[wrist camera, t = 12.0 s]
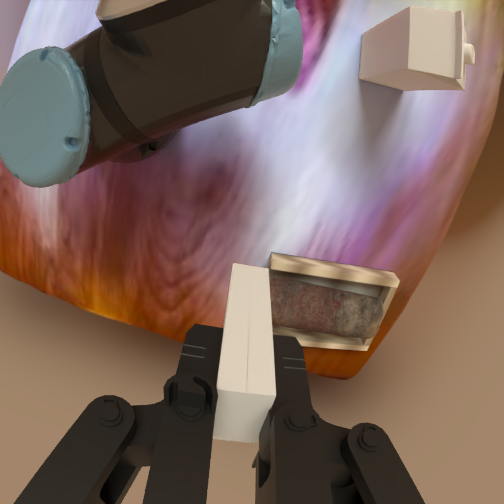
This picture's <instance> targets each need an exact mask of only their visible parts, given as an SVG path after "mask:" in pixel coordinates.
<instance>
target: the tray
mask: <svg viewBox="0 0 504 504" xmlns="http://www.w3.org/2000/svg"><path fill="white" fill-rule="evenodd" d="M268 270H269V274H271V275H276V276H280V277H285V278H289V279H294V280H298V281H303V282H307V283H311V284H316V285H320V286H325V287H330V288H334V289H339V290H344V291H349V292H354V293H359V294H363V295H368V296H373V297H378V298H380V299H381V300H382V302H383V305H384V309H383V317H384V315H385V313H386V311H387V309H388V307H389V305H390V302H391V300H392V298H393V296H394V294H395V291H396V289H397V287H398V284H399V282H400V281H399V279H398V278H397V277H396V275H395V274H394V272H390V271H384V270H378V269H372V268H366V267H359V266H353V265H347V264H341V263H335V262H329V261H323V260H316V259H310V258H304V257H298V256H292V255H285V254H279V253H273V252H272V253H271V257H270V262H269V266H268ZM383 317H382V319H383ZM381 322H382V320H381ZM381 322H380V324H381ZM380 324H379V326H380ZM272 332H273V334H275V335H283V336H292V337H296V339H297V340H298V341H299V343H300V344H301V346H309V347H320V348H332V349H346V350H362V351H367V349H368V347H369V345H370V343H371V341H372V340H373V338H374V337H373V338H370V339H363V338H355V337H348V336H339V335H333V334H327V333H320V332H313V331H306V330H300V329H293V328H287V327H281V326H275V325H272Z"/></svg>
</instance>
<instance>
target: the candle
mask: <svg viewBox="0 0 504 504" xmlns="http://www.w3.org/2000/svg"><path fill="white" fill-rule="evenodd" d="M269 285H270V300H271V316H272V325H275V326H281V327H287V328H293V329H300V330H306V331H313V332H320V333H327V334H333V335H339V336H348V337H355V338H363V339H370V338H373V337H374V336H375V335H376V334H377V332H378V330H379V324H380V322H381V320H382V317H383V309H384V305H383V302H382V300H381V299H380V298H378V297H373V296H368V295H363V294H359V293H354V292H349V291H344V290H339V289H334V288H330V287H325V286H320V285H316V284H311V283H307V282H303V281H298V280H294V279H289V278H285V277H280V276H276V275H271V274H269Z"/></svg>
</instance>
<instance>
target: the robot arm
mask: <svg viewBox="0 0 504 504" xmlns="http://www.w3.org/2000/svg"><path fill="white" fill-rule="evenodd" d="M95 14H96V16H97V18H98V20H99V21H100V23H101V24H102V25H103V26H101V27H99V28H98V29H96V30H94V31H93V32H91V33H89V34H87V35H86V36H84V37H82V38H81V39H79V40H78V41H76V42H74V43H73V44H71V45H70V46H68V47H66V48H64V49H61V48H59V47H56V46H55V47H50V46H48V47H45V48H41V49H36V50H33V51H31V52H29V53H27V54H25V55H24V56H22V57H21V58H20V59H19V60H18V61H17V62H16V63H15V64H14V65H13V66H12V67H11V69H10V70H9V71H8V73H7V74H6V76H5V78H4V80H3V82H2V84H1V86H0V156H1V159H2V161H3V163H4V164H5V166H6V167H7V169H8V170H9V171H10V173H11V174H12V175H13V176H14V177H16V178H19V179H20V180H21V181H22V182H23V183H24V184H26V185H28V186H32V187H38V188H43V187H49V186H52V185H54V184H62V183H65V182H67V181H69V180H70V179H71V178H73V177H74V176H75V175H76V174H78V173H81V172H83V171H85V170H87V169H89V168H91V167H94V166H96V165H98V164H100V163H103V162H105V161H107V160H110V161H114V162H119V163H130V162H136V161H140V160H143V159H145V158H147V157H150V156H152V155H153V154H155V153H157V152H158V151H160V150H161V149H162V148H164V147H165V146H166V145H167V144H168V143H169V141H170V140H171V139H172V138H173V136H174V135H175V133H176V131H177V130H178V129H181V128H183V127H186V126H189V125H192V124H195V123H197V122H200V121H203V120H206V119H209V118H212V117H215V116H218V115H221V114H224V113H228V112H231V111H234V110H237V109H241V108H250V107H251V106H254V105H256V104H257V103H258V102H260V101H264V100H267V99H270V98H273V97H276V96H279V95H282V94H284V93H286V92H287V91H289V90H290V89H291V88H292V87H293V86H294V85H295V84H296V82H297V80H298V78H299V75H300V72H301V67H302V60H303V36H302V26H301V19H300V14H299V11H298V10H297V9H296V8H295V0H99V3H98V6H97V9H96V12H95ZM258 438H259V451H258V453H257V455H256V457H255V459H254V461H253V464H252V468H255V467H256V495H255V496H256V498H255V500H256V501H255V504H425V503H424V501H423V499H422V497H421V495H420V493H419V492H418V490H417V488H416V486H415V484H414V482H413V480H412V479H411V477H410V475H409V473H408V471H407V469H406V468H405V466H404V464H403V462H402V460H401V459H400V457H399V455H398V453H397V451H396V450H395V448H394V446H393V444H392V442H391V441H390V439H389V437H388V435H387V434H386V433H385V432H384V430H383V429H382V428H380V427H378V426H377V425H375V424H371V423H360V424H357V425H355V426H354V427H353V428H352V429H351V430H350V429H347V428H343V427H339V426H336V425H332V424H330V423H327V422H325V421H324V420H322V419H321V418H320V417H319V415H318V414H317V413H316V412H315V410H314V409H313V407H312V404H311V398H310V391H309V385H308V379H307V372H306V365H305V361H304V353H303V347H302V346H301V344H300V343H299V341H298V340H297V339H296V337H292V336H283V335H275V334H273V332H272V316H271V300H270V285H269V270H268V268H262V267H256V266H249V265H243V264H237V263H233V267H232V273H231V279H230V285H229V291H228V298H227V304H226V310H225V317H224V324H223V328H218V327H212V326H206V325H200V324H195V325H194V326H193V327H192V328H191V329H190V330H189V331H188V332H187V334H186V338H185V341H184V346H183V349H182V354H181V356H180V360H179V365H178V368H177V372H176V375H174V376H172V377H171V378H170V379H168V380H167V382H166V384H165V386H164V400H162V401H161V402H158V403H155V404H150V405H136V406H131V405H130V404H129V403H128V402H127V401H126V400H124V399H123V398H120V397H117V396H114V395H104V396H101V397H98V398H96V399H94V400H93V401H92V402H91V403H90V404H89V405H88V406H87V408H86V409H85V410H84V411H83V413H82V414H81V415H80V416H79V418H78V419H77V420H76V421H75V423H74V424H73V425H72V427H71V428H70V429H69V430H68V432H67V433H66V434H65V436H64V437H63V438H62V439H61V441H60V442H59V443H58V445H57V446H56V447H55V449H54V450H53V451H52V452H51V454H50V455H49V457H48V458H47V459H46V460H45V462H44V463H43V465H42V466H41V467H40V468H39V470H38V471H37V472H36V474H35V475H34V477H33V478H32V479H31V481H30V482H29V483H28V485H27V486H26V487H25V489H24V490H23V491H22V493H21V494H20V496H19V497H18V498H17V500H16V501H15V502H14V504H121V502H122V500H123V499H124V497H125V495H126V494H127V492H128V490H129V488H130V487H131V485H132V483H133V481H134V480H135V478H136V476H137V474H138V472H139V471H140V469H141V468H142V467H143V466H150V471H149V475H148V480H147V485H146V489H145V494H144V499H143V504H206V499H207V489H208V478H209V468H210V459H211V449H212V439H221V440H229V441H238V442H248V443H257V441H258Z"/></svg>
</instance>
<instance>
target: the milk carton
mask: <svg viewBox="0 0 504 504" xmlns="http://www.w3.org/2000/svg"><path fill="white" fill-rule="evenodd" d="M474 62H475V52H474V47H473V45H471V44H467V38H466V29H465V27H464V20H463V11H458V12H451V11H445V10H439V9H433V8H426V7H418V6H410V7H408V8H406V9H404V10H402V11H400V12H399V13H397V14H395V15H393V16H392V17H390V18H388V19H386V20H385V21H383V22H381V23H380V24H378V25H376V26H375V27H373V28H371V29H370V30H368V31H367V32H365V33H363V34H362V44H361V58H360V70H359V79H361V80H365V81H369V82H373V83H377V84H381V85H385V86H388V87H392V88H396V89H399V90H402V91H414V90H464V89H465V76H466V64H470V65H474Z"/></svg>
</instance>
